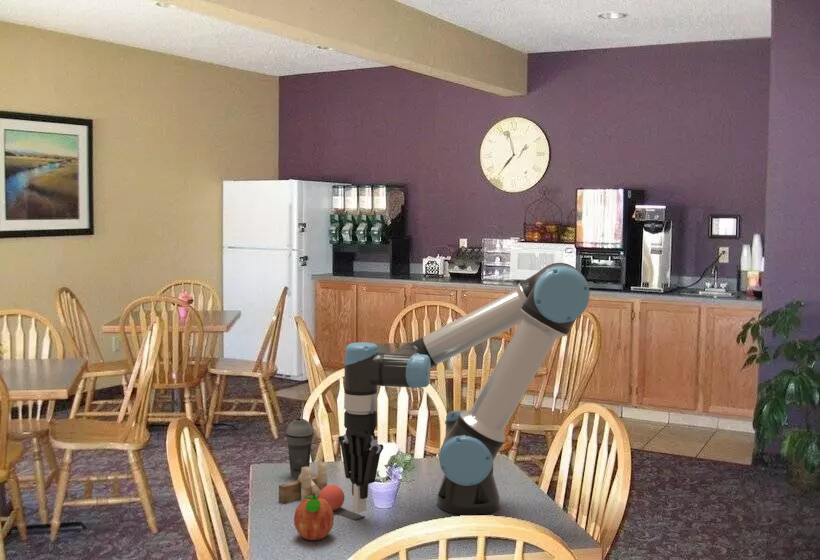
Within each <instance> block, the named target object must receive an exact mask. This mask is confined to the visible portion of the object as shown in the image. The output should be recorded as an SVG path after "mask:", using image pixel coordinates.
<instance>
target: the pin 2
mask: <svg viewBox="0 0 820 560" xmlns="http://www.w3.org/2000/svg"><path fill="white" fill-rule="evenodd" d="M316 468H317V469H316V472H317V473H316V475H317V486H318V488H319V489H320V490H322V489H323V488H324V487H326V486H328V463H327V462H324V461H323V462H317V467H316Z"/></svg>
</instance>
